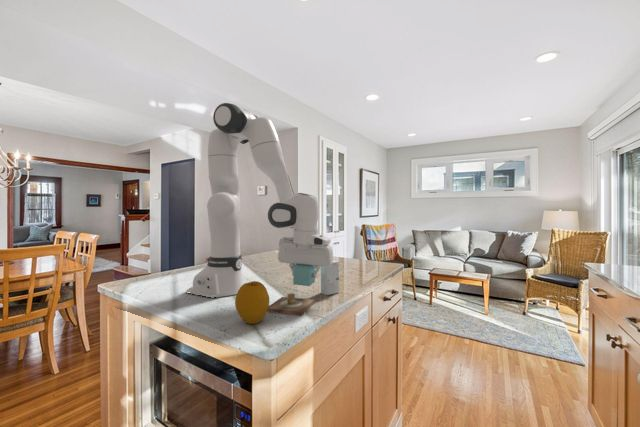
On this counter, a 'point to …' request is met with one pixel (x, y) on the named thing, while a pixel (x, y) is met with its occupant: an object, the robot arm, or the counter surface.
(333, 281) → the skincare box
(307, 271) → the teal cube box
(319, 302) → the counter surface
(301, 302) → the tan plate with disc
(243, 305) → the apple
